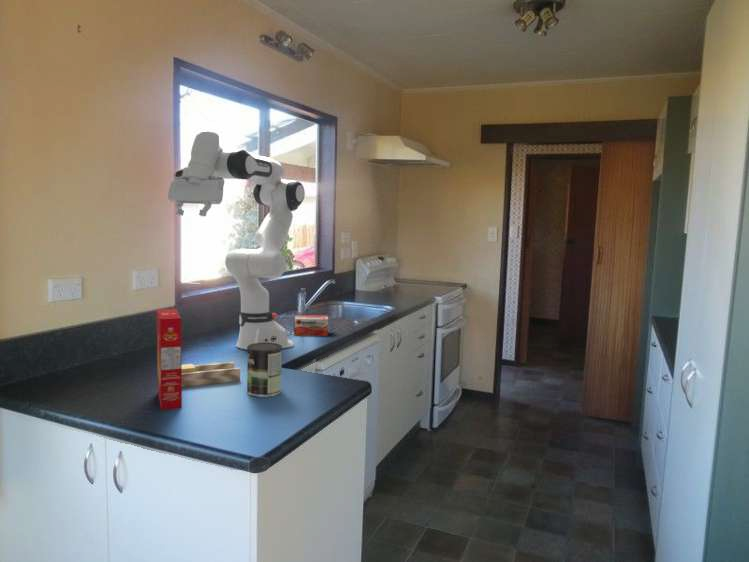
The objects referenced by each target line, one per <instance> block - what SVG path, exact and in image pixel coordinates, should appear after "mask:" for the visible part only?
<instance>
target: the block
mask: <svg viewBox="0 0 749 562" xmlns="http://www.w3.org/2000/svg"><path fill="white" fill-rule="evenodd" d="M181 367H182V373H187V372H195V367H194V363H187V364H181Z"/></svg>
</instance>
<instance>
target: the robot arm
mask: <svg viewBox="0 0 749 562" xmlns="http://www.w3.org/2000/svg"><path fill="white" fill-rule="evenodd" d="M284 175H285V173H284V167H283V165H282V164H281V163H280V162H279V161H276V160H275V159H273V158H271V157H266V156H262V155H253V154H252V153H251V152H250V151H248V150H246V149H238V150H224V148H223V146H222V143H221V135H220V134H219V133H217V132H216V131H209V130H203V131H202V130H201V131H199V132H197V134H196V136H195V138H194V140H193V144H192V147H191V151H190V160H189V161H188V164H187V166H186V167H183V168H182V169H179V170H176V171H174V173H173V175H172V177H173V178H174V179H173V180H172V181H171V183H170V186H169V189H168V192H167V198H168V200H169V201H170V202H172V203H174V204H175V206H176V213H175V214H176V215H177V216H184V213H185V210H183V208H182V207H183V206H184V204H192V205H193V204H196V205H197V204H198V205H199V204H201V205H203V208H202V209H199V216H200V217H207V213H208V211H209V210H210V209H211V207H212V205H220V204H221V203H222V202H223V197H224V186H225V180H226V179H228V180H229V179H230V180H233V179H234V180H235V179H238V180H247V181H248V182H249V183H252V184H254V186H253V191H252V193H253V194H252V195H253V198H254V201H255V202H256V203H257V204H258V205H261V206H266V207H267V206H269V207H270V210H269V212H268V213H267V215H266V216H265V217H264V219H263V220H262V222H261V224H260V226H259V228H258V229H257V231H256V233H255V242H256V244H257V245H258V248H257V249H255V248H253V249H252V248H236V249H233V250H232V249H231V250H230V251H229V252H228V253H227V254H226V257H225V268H226V270H227V271H228V272H229V273H230V274H231V275H232V277H234V280H235V282H236V284H237V286H238V289H239V293H240V295H239V296H240V311H239V319H238V320H239V334H238V339H237V343H236V345H235V346H236V348H239V349H242V350H247V346H248V345H250V344H254V343H276V344H279V345H281V346H282V349H287V348H292V347H294V342H293V341H292V340H290V339H289V338H288V332H287V330H286V329H285V328H284V327H283V326H282V325H280V324H279V323H278V322H276V321H275V320H274V319H277V318H278V314H277V313H276V312H272V311H270V293H269V291H268V289H267V288H265V287H264V286H263V285H262V283H261V282H260V280H259V278H261V279H273V278H279V277H282V275H283V274H284V273H285V271H286V267H287V262H286V259H285V256H284V254H282V252H281V247H282V245H283V242H284V241H285V239H286V236H287V234H288V233H289V231H290V228H291V225H292V221H293V218H294V216H293V212H294V211H296V210H297V209H299V207H300V206H301V205H302V203H303V202H304V199H305V197H306V196H305V195H306V194H305V188H304V186H303V184H302V183H301V182H300V181H298V180H294V179H291V180H289V179H288V180H287V179H283V178H284Z"/></svg>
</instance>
